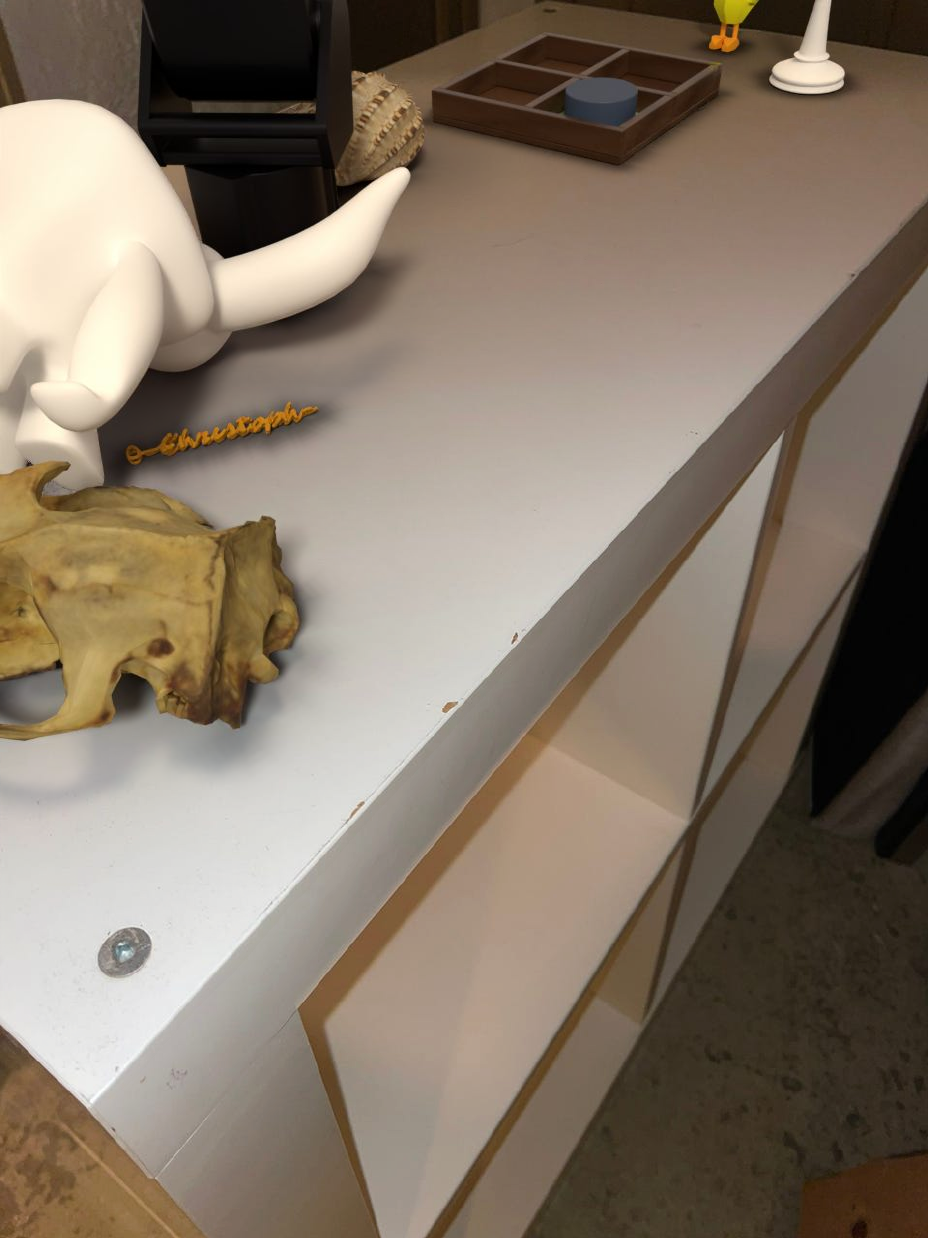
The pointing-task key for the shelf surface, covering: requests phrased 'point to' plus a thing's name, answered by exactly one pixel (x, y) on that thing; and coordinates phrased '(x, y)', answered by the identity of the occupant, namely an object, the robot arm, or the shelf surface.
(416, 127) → the seashell
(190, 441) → the keychain
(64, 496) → the animal skull
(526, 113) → the grid
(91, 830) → the shelf surface
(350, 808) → the shelf surface
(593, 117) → the short blue cylinder
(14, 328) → the toy animal
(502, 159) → the shelf surface
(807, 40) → the chess piece
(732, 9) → the toy figure
